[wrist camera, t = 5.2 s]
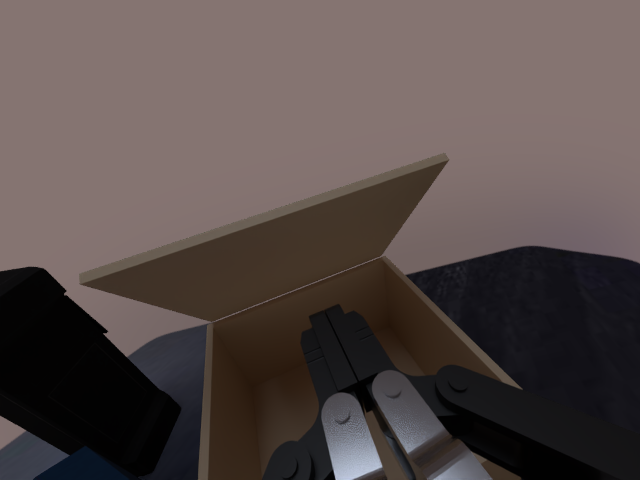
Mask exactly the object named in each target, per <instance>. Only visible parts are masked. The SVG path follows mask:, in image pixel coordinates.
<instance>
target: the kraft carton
mask: <svg viewBox="0 0 640 480" xmlns="http://www.w3.org/2000/svg"><path fill="white" fill-rule="evenodd" d="M337 304H339V305H340V306H341V308H342V309H343V311H344V313H345V314H346V313H348V312H351V311H353V310H354V311H356V312H357V313H358V314H360V315H361V316H363V317H364V319H365V320H366V322H367V324H368V325H369V327H370V328H371V330H372V331H373V333H374V335H375V336H376V338H377V339H378V341H379V342H380V344H381V346H382V347H383V349H384V350H385V352H386V353H387V355H388V356H389V358H390V360H391V361H392V363H393V364H394V365H395V367H396V368H397V369H399V370H400V371H401V372H403V373H405V374H407V375H411V376H426V375H436V374H437V372H438V370H439V369H440V368H442V367H443V366H446V365H458V366H461V367H464V368H467V369H469V370H472V371H474V372H477V373H480V374H482V375H485V376H488V377H490V378H493V379H496V380H498V381H501V382H503V383H506V384H509V385H511V386H514V387H517V388H519V389H521V388H520V387H519V386H518V385H517V384H516V383H515V382H514V381H513V380H512V379H511V378H510V377H509V376H508V375H507V374H506V373H505V372H504V371H503V370H502V369H501V368H500V367H499V366H498V365H497V364H496V363H495V362H494V361H493V360H492V359H491V358H490V357H489V356H488V355H486V354H485V353H484V352H483V351H482V350H481V349H480V348H479V347H478V346H477V345H476V344H475V343H474V342H473V341H472V340H471V339H470V338H469V337H468V336H467V335H466V334H465V333H464V332H463V331H462V330H461V329H460V328H459V327H458V326H457V325H456V324H455V323H454V322H453V321H452V320H451V319H450V318H448V317H447V316H446V315H445V314H444V313H443V312H442V311H441V310H440V309H439V308H438V307H437V306H436V305H435V304H434V303H433V302H432V301H431V300H430V299H429V298H428V297H427V296H426V295H425V294H424V293H423V292H422V291H421V290H420V289H419V288H418V287H417V286H416V285H415V284H414V283H413V282H412V281H410V280H409V279H408V278H407V277H406V276H405V275H404V274H403V273H402V272H401V271H400V270H399V269H398V268H397V267H396V266H395V265H394V264H393V263H392V262H391V261H390V260H389V259H388V258H387V257H386V256H383V257H381V258H378V259H376V260H373V261H371V262H368V263H365V264H363V265H360V266H358V267H356V268H352V269H350V270H347V271H345V272H342V273H340V274H337V275H335V276H332V277H330V278H327V279H325V280H322V281H319V282H317V283H314V284H311V285H309V286H306V287H304V288H302V289H299V290H296V291H294V292H291V293H288V294H286V295H283V296H281V297H278V298H276V299H273V300H270V301H268V302H265V303H263V304H260V305H258V306H255V307H253V308H250V309H247V310H245V311H242V312H240V313H238V314H235V315H232V316H229V317H227V318H224V319H222V320H219V321H217V322H214V323H212V324H209V325H207V340H206V356H205V373H204V389H203V405H202V422H201V438H200V454H199V471H198V480H262V478H263V475H264V473H265V470H266V468H267V465H268V462H269V460H270V458H271V456H272V454H273V452H274V451H275V450H276V449H277V447H279V446H280V445H281V444H283V443H284V442H287V441H298V440H299V439H300V438H301V437H302V436H303V435H304V434H305V433H306V432H307V431H308V430H309V429H310V428H311V427H312V426H313V424H314V423H315V421H316V418H317V415H318V411H319V402H318V398H317V395H316V391H315V388H314V385H313V382H312V379H311V376H310V372H309V369H308V366H307V363H306V360H305V357H304V354H303V350H302V347H301V344H300V341H301V334H302V332H303V331H305V330H308V329H310V328H312V325H311V322H310V319H309V316H310V315H312V314H315V313H317V312H320V311H322V310H323V311H324V309H327V308H329V307H332V306H334V305H337ZM364 412H365V418H366V422H367V426H368V428H369V431H370V434H371V436H372V439H373V442H374V445H375V447H376V450H377V453H378V456H379V458H380V461H381V464H382V467H383V469H384V472H385V474H386V477H387V479H388V480H407V479H406V477H405V476H404V474H403V472H402V470H401V468H400V467H399V465H398V463H397V461H396V459H395V458H394V456H393V454H392V452H391V450H390V448H389V447H388V445H387V443H386V441H385V439H384V438H383V436H382V434H381V432H380V429H379V425H378V422H377V420H376V418H375V416H374V413H373V411H370V412H368V413H366V411H365V409H364ZM471 452H472V451H471ZM472 454H473V455H474V456H475V457H476V459H477V460H478V461H479V462H480V464H481V465H482V466H483V468H484V469H485V470H486V471H487V473H488V474H489V475H490V477H491V478H492V479H493V480H521V477H519V476H517V475H515V474H513V473H511V472H509V471H507V470H506V469H504V468H502V467H500V466H498V465H496V464H494V463H492V462H490V461H489V460H487V459H485V458H483V457H481V456H479V455H477V454H475V453H473V452H472Z"/></svg>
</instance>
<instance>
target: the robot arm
mask: <svg viewBox="0 0 640 480" xmlns="http://www.w3.org/2000/svg"><path fill="white" fill-rule="evenodd" d="M309 319H310V322H311V325H312V328H310V329H308V330H305V331H303V332H302V334H301V341H300V344H301V347H302V350H303V354H304V357H305V360H306V363H307V366H308V369H309V372H310V376H311V379H312V382H313V385H314V388H315V391H316V395H317V398H318V402H319V411H318V415H317V418H316V421H315V423H314V424H313V426H312V427H311V428H310V429H309V430H308V431H307V432H306V433H305V434H304V435H303V436H302V437H301V438H300V439H299V440H298V441H287V442H284V443H283V444H281V445H280V446H279V447H277V449H276V450H275V451H274V452H273V454H272V456H271V458H270V460H269V462H268V465H267V468H266V470H265V473H264V475H263V478H262V480H388V479H387V477H386V474H385V472H384V469H383V467H382V464H381V461H380V458H379V456H378V453H377V450H376V447H375V445H374V442H373V439H372V436H371V434H370V431H369V428H368V426H367V422H366V418H365V412H364V409H365V411H366V413H368V412H370V411H373V413H374V416H375V418H376V420H377V422H378V425H379V429H380V432H381V434H382V436H383V438H384V439H385V441H386V443H387V445H388V447H389V448H390V450H391V452H392V454H393V456H394V458H395V459H396V461H397V463H398V465H399V467H400V468H401V470H402V472H403V474H404V476H405V477H406V479H407V480H493V479H492V478H491V477H490V475H489V474H488V473H487V471H486V470H485V469H484V468H483V466H482V465H481V464H480V462H479V461H478V460H477V459H476V457H475V456H474V455H473V454H472V452H473V453H475V454H477V455H479V456H481V457H483V458H485V459H487V460H489V461H490V462H492V463H494V464H496V465H498V466H500V467H502V468H504V469H506V470H507V471H509V472H511V473H513V474H515V475H517V476H519V477H521V478H523V479H524V480H640V434H638V433H635V432H633V431H630V430H627V429H625V428H622V427H619V426H617V425H614V424H612V423H609V422H606V421H604V420H601V419H598V418H596V417H593V416H590V415H588V414H585V413H583V412H580V411H577V410H575V409H572V408H569V407H567V406H564V405H561V404H559V403H556V402H554V401H551V400H548V399H546V398H543V397H540V396H538V395H535V394H532V393H530V392H527V391H525V390H522V389H519V388H517V387H514V386H511V385H509V384H506V383H503V382H501V381H498V380H496V379H493V378H490V377H488V376H485V375H482V374H480V373H477V372H474V371H472V370H469V369H467V368H464V367H461V366H458V365H446V366H443V367H442V368H440V369H439V370H438V372H437V374H436V375H426V376H411V375H407V374H405V373H403V372H401V371H400V370H399V369H397V368H396V367H395V365H394V364H393V363H392V361H391V360H390V358H389V356H388V355H387V353H386V352H385V350H384V349H383V347H382V346H381V344H380V342H379V341H378V339H377V338H376V336H375V335H374V333H373V331H372V330H371V328H370V327H369V325H368V324H367V322H366V320H365V319H364V317H363V316H361V315H360V314H358V313H357V312H356V311H354V310H353V311H351V312H348V313H346V314H345V313H344V311H343V309H342V308H341V306H340V305H339V304H337V305H334V306H332V307H329V308H327V309H324V311H323V310H322V311H320V312H317V313H315V314H312V315H310V316H309ZM471 451H472V452H471Z"/></svg>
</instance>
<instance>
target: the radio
mask: <svg viewBox="0 0 640 480" xmlns="http://www.w3.org/2000/svg"><path fill="white" fill-rule="evenodd" d="M33 480H141V479H139V478H138V477H136V476H135V475H133V474H131V473H130V472H128V471H126V470H125V469H123V468H121V467H120V466H118V465H116V464H115V463H113V462H111V461H110V460H108V459H106V458H105V457H103V456H101V455H100V454H98V453H97V452H95V451H93V450H92V449H90V448H88V447H87V446H84V447H83V448H81V449H80V450H78V451H76V452H75V453H73V454H72V455H70V456H68V457H67V458H65V459H64V460H62V461H60V462H59V463H57V464H56V465H54V466H52V467H51V468H49V469H48V470H46V471H44V472H43V473H41V474H40V475H38V476H36V477H35V478H34V479H33Z"/></svg>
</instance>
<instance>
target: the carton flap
mask: <svg viewBox="0 0 640 480" xmlns="http://www.w3.org/2000/svg"><path fill="white" fill-rule="evenodd" d="M448 161H449V159H448V157H447V156H446V154H445V153H443V154H440V155H437V156H434V157H431V158H428V159H425V160H422V161H419V162H416V163H413V164H410V165H407V166H404V167H401V168H398V169H394V170H391V171H389V172H385V173H383V174H379V175H376V176H374V177H370V178H367V179H364V180H361V181H358V182H355V183H352V184H349V185H346V186H343V187H340V188H337V189H334V190H331V191H328V192H325V193H322V194H319V195H316V196H313V197H310V198H307V199H304V200H301V201H298V202H295V203H292V204H289V205H286V206H283V207H280V208H277V209H274V210H271V211H268V212H265V213H262V214H259V215H256V216H253V217H250V218H247V219H244V220H241V221H238V222H235V223H231V224H228V225H225V226H223V227H219V228H216V229H213V230H210V231H207V232H204V233H201V234H198V235H195V236H192V237H189V238H186V239H183V240H180V241H177V242H174V243H171V244H168V245H165V246H162V247H159V248H156V249H153V250H150V251H147V252H144V253H141V254H138V255H135V256H132V257H129V258H126V259H123V260H120V261H117V262H114V263H111V264H108V265H105V266H102V267H99V268H96V269H93V270H90V271H87V272H84V273H81V274H79V279H80V285H84V286H87V287H91V288H95V289H98V290H102V291H105V292H108V293H112V294H116V295H119V296H122V297H126V298H130V299H133V300H137V301H140V302H144V303H147V304H151V305H154V306H158V307H161V308H165V309H168V310H172V311H176V312H179V313H182V314H186V315H189V316H193V317H196V318H200V319H203V320H207V321H211V322H212V321H215V320H218V319H220V318H222V317H225V316H228V315H230V314H233V313H236V312H238V311H241V310H243V309H246V308H248V307H251V306H253V305H256V304H259V303H261V302H264V301H266V300H269V299H272V298H274V297H277V296H279V295H282V294H284V293H287V292H289V291H292V290H295V289H297V288H300V287H302V286H305V285H307V284H310V283H313V282H315V281H318V280H320V279H323V278H325V277H328V276H331V275H333V274H336V273H338V272H341V271H344V270H346V269H349V268H351V267H354V266H356V265H358V264H362V263H364V262H367V261H369V260H372V259H374V258H377V257H380V256H381V255H382V254H383V252H384V251H385V250H386V248H387V247H388V245H389V244H390V243H391V240H393V238H394V237H395V235H396V234H397V232H398V231H399V230H400V228H401V227H402V225H403V224H404V223H405V221H406V220H407V218H408V217H409V216H410V214H411V213H412V211H413V210H414V209H415V207H416V206H417V204H418V203H419V201H420V200H421V199H422V197H423V196H424V194H425V193H426V192H427V190H428V189H429V188H430V186H431V185H432V183H433V182H434V180H435V179H436V177H437V176H438V175H439V173H440V172H441V171H442V169H443V168H444V166H445V165H446V163H447V162H448Z"/></svg>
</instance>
